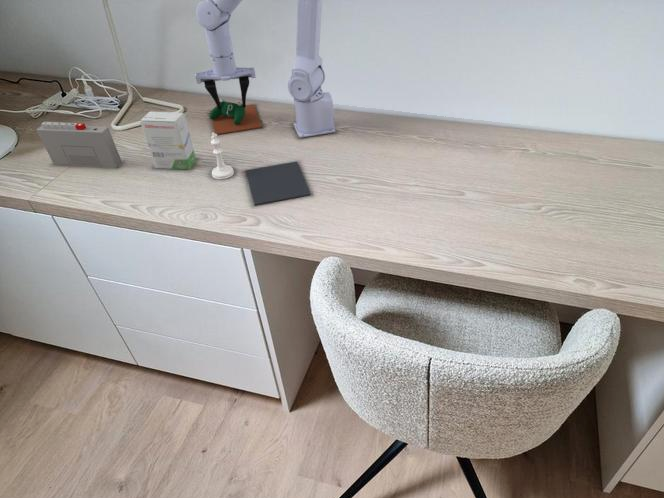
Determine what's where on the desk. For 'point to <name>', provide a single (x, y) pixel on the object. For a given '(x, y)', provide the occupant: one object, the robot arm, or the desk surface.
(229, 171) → the chess piece
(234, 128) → the cork mat
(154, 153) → the ink box
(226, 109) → the gaming controller
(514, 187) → the desk surface
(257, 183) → the slate mat
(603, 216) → the desk surface
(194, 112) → the desk surface
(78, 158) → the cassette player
